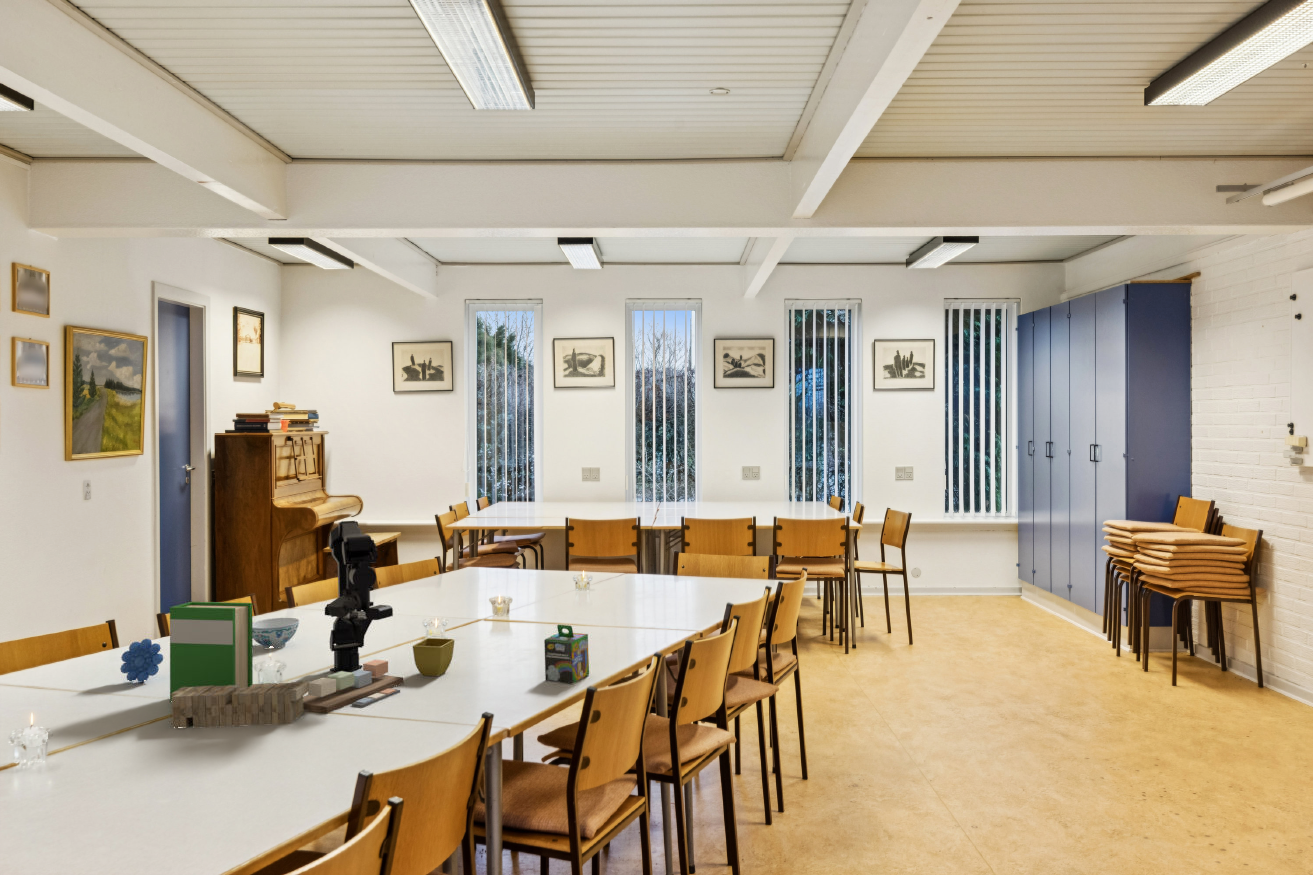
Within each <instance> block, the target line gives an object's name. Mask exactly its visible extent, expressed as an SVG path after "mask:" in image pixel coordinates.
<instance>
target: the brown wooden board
mask: <svg viewBox="0 0 1313 875" xmlns="http://www.w3.org/2000/svg"><path fill="white" fill-rule="evenodd" d="M401 683H402V684H404V677H401V676H397V675H395V676H394V675H388V674H382V675H379V676H377V677H374V676H372V683H371V684H368V685H365V686H363V687H360V688H356V687H347V688H344V689H342V690H339V689H336V692H333V693H331V694H328V695H325V696H323V697H319V696H313V695H308V694H307V695H303V708H304V710H306V711H312V712H317V713H323V714H328V713H331V712H334V710H335V711H336V710H339V709H342V708H344V706H345V707H347V706H349V705H352V703H354V702H356V701H358V700H360V699H363V698H366V697H368V696H371V695H373V694H376V693H379V692H381V691H383V690H386V689H389V688H391V689H393V688H395V687H397V686H399V684H400V685H402V684H401ZM396 685H397V686H396ZM394 686H395V687H394Z"/></svg>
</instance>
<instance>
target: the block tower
mask: <svg viewBox="0 0 1313 875" xmlns="http://www.w3.org/2000/svg"><path fill="white" fill-rule="evenodd" d="M309 682H310V681H307V680H306V681H303V680H297V681H294V682H293V681H291V682H278V683H277V682H274V683H273V682H272V683H271V682H267V683H253V685H251V686H250V687H248V688H247V687H245V688H241V689H239V685H228V686H215V687H214V686H202V687H201V686H197V687H182V688H180V689H178V690H177V691H175V692H173V693H172V702H171V716H172V717H171V718H172V719H171V720H172V723H171V724H172V728H173V727H175V728H176V729H179V728H178V727H187V728H188V726H189V725H190V724H191V725H192V728H193V727H199V728H200V727H202V728H219V727H220V728H222V726H224V727H239V726H240V727H243V725H249V726H264V725H267V724H270V725H285V724H287V725H288V724H292V723H293V721H294V720H295V721H296V720H297V719H298V718H299V717H300V716H301V715H302V714H303V713H304V712H305V711H304V710H305V709H304V708H303V697H304V696H306V694H307V693H308V691H309ZM295 721H294V722H295ZM192 723H193V724H192ZM191 725H190V726H191ZM190 726H189V727H190ZM267 726H268V725H267Z"/></svg>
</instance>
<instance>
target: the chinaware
mask: <svg viewBox="0 0 1313 875" xmlns="http://www.w3.org/2000/svg"><path fill="white" fill-rule="evenodd" d="M299 625H300V619H298V618H295V617H276V618H275V617H274V618H273V617H272V618H266V619H260V620H257V621H252V638H253V641H255V642H256V643H257V644H259V645H260V646H261V647H264V648H269V647H270V646H273V647H274V648H276V649H279V648H278V647H281V648H283V647H282V646H284V647H285V646H286V643H288V641H291V639H293V637H294V636H295V634H296V632H297V630H298V627H299ZM264 648H263V649H264Z"/></svg>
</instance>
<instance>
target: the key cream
mask: <svg viewBox="0 0 1313 875" xmlns="http://www.w3.org/2000/svg"><path fill="white" fill-rule="evenodd" d="M333 692H336V679H329V678H327V677H321V678H318V679H314V680H311V681H309V691H308V692H307V693H308V694H307V695H313V696H319V697H323V696H325V695H328V694H331V693H333Z"/></svg>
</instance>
